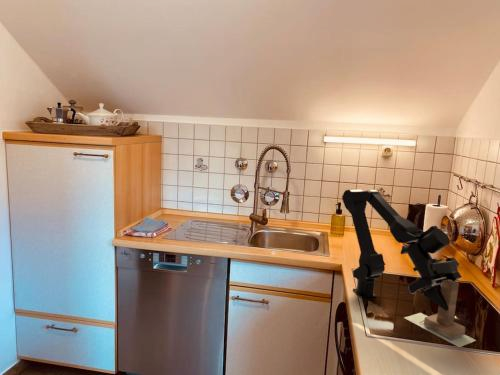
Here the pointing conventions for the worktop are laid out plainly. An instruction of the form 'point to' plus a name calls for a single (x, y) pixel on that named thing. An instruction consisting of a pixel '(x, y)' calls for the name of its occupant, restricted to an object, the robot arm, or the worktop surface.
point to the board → (419, 321)
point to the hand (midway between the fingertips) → (450, 309)
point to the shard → (375, 309)
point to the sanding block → (446, 313)
